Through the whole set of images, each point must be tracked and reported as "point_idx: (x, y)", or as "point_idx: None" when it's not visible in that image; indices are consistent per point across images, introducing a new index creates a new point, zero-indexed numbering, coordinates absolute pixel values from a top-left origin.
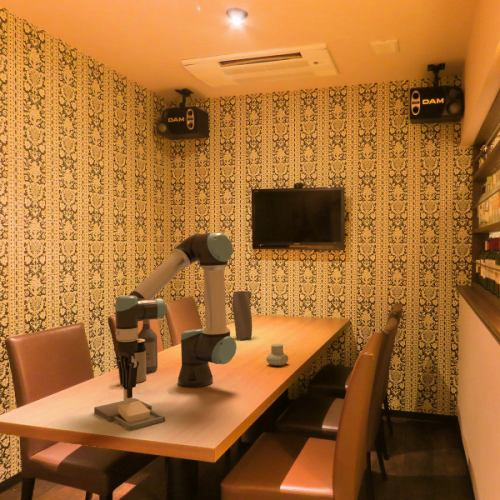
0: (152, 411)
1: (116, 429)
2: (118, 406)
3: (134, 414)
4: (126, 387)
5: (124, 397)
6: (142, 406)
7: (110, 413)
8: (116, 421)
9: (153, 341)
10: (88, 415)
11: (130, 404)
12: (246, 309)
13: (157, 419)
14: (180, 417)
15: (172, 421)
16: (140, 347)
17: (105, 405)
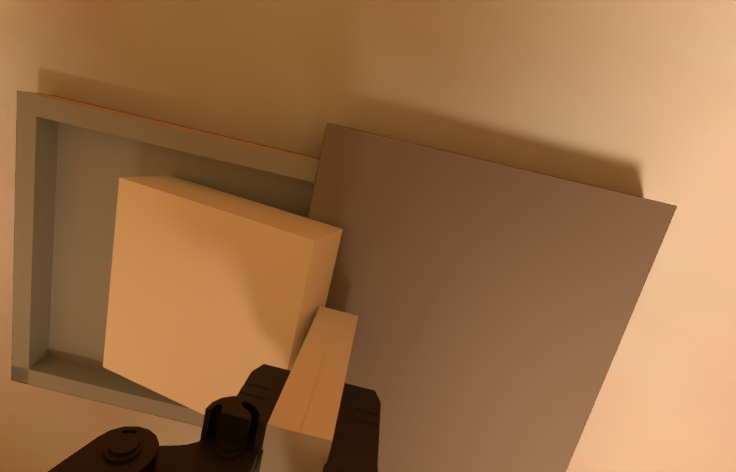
0: (177, 411)
1: (152, 48)
2: (317, 238)
3: (120, 238)
4: (217, 444)
5: (325, 359)
6: (181, 382)
7: (385, 177)
8: (278, 150)
9: None
10: (640, 126)
11: (261, 337)
12: None
13: (17, 320)
14: (30, 456)
15: (3, 383)
16: None
17: (615, 299)
